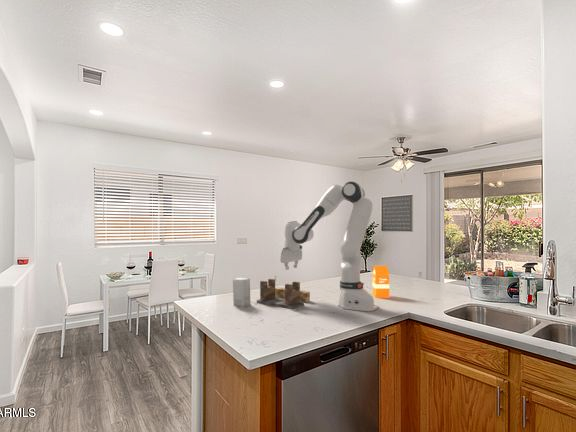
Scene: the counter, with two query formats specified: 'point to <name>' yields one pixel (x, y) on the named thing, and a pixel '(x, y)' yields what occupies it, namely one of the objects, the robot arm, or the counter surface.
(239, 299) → the skincare box
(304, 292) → the oak rail
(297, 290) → the slotted posts
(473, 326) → the counter surface
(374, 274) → the orange juice
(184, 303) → the counter surface
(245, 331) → the counter surface
